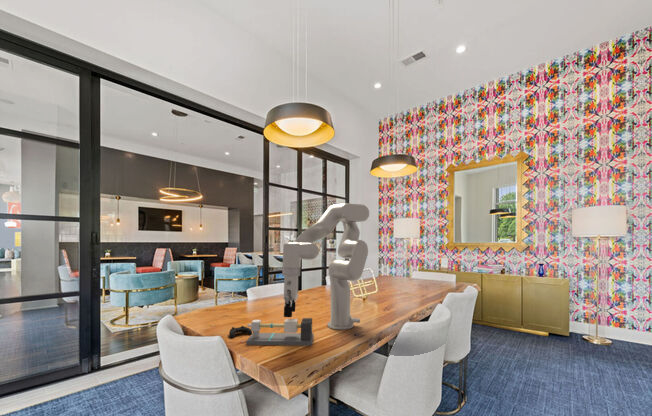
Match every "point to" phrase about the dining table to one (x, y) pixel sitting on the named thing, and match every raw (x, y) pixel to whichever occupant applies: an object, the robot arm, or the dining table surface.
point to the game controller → (238, 330)
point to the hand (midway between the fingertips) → (289, 314)
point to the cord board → (281, 334)
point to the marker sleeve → (290, 325)
